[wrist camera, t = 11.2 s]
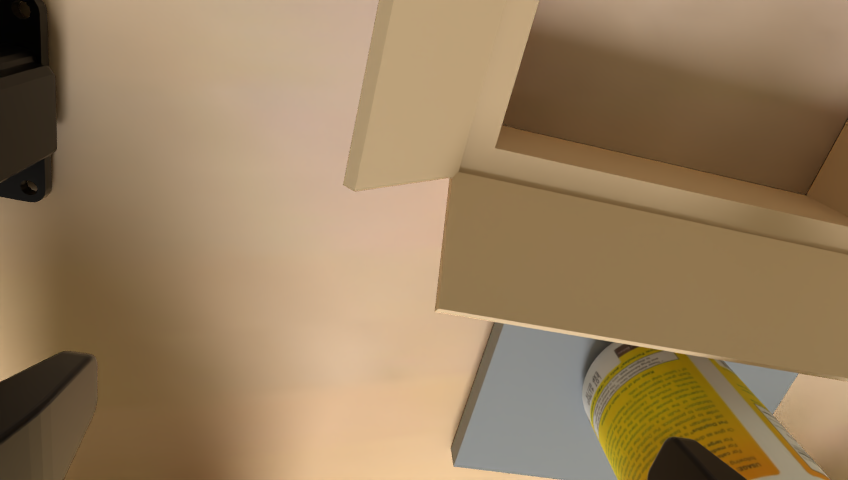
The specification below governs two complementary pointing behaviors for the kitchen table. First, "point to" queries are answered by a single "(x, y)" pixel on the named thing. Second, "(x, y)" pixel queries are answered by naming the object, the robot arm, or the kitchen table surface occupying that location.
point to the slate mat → (552, 406)
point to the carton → (594, 210)
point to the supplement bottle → (685, 414)
